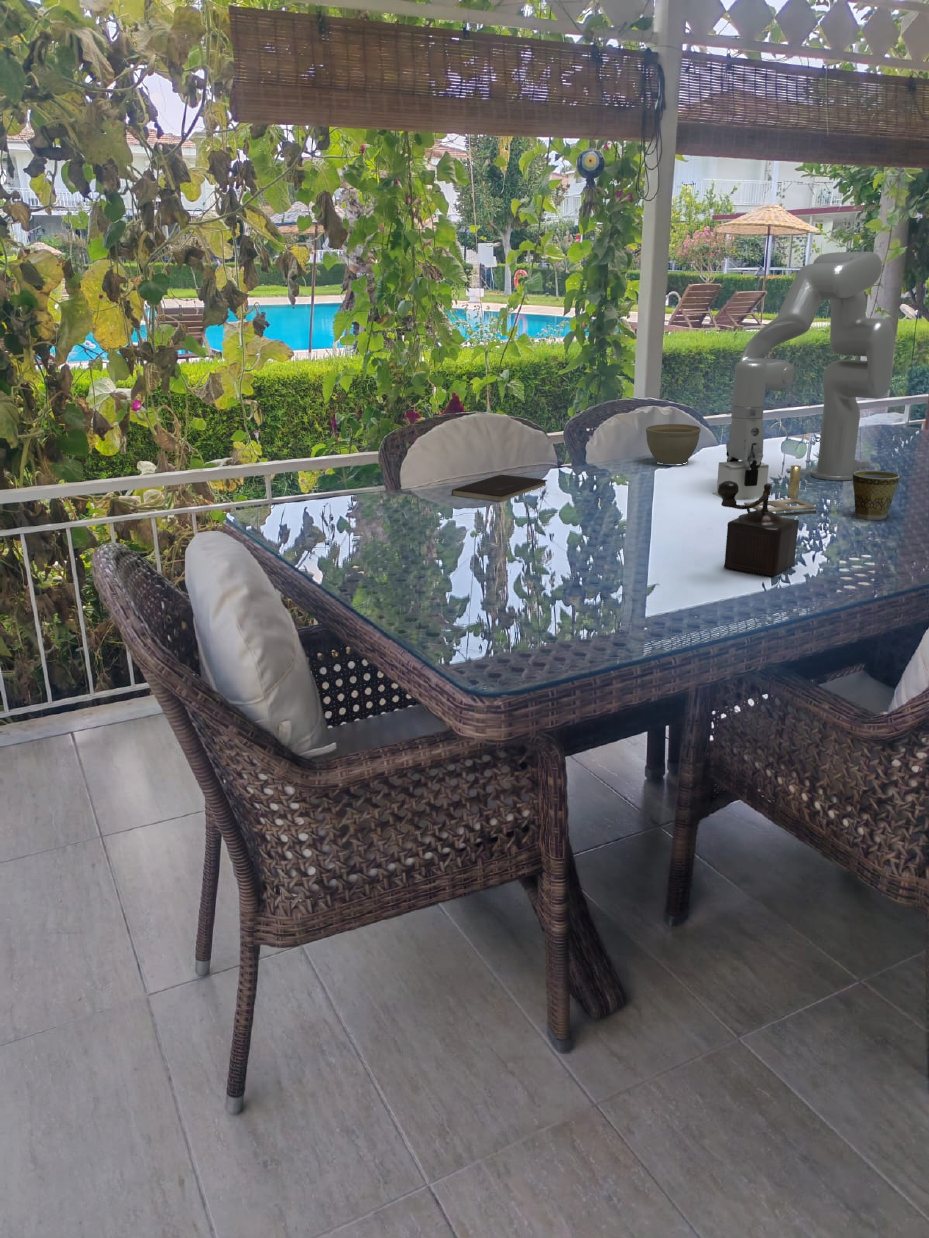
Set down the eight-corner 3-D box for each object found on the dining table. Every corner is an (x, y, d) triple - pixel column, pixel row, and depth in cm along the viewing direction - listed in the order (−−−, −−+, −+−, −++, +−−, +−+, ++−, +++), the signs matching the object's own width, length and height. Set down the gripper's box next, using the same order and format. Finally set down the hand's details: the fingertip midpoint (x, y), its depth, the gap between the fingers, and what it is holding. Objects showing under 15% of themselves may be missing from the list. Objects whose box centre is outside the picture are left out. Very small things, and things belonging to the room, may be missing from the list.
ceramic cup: (898, 522, 214) (904, 479, 211) (851, 521, 216) (857, 478, 213) (886, 509, 226) (891, 468, 223) (842, 508, 228) (847, 467, 225)
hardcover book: (547, 488, 260) (547, 479, 260) (501, 504, 243) (501, 495, 242) (499, 482, 269) (499, 474, 268) (451, 497, 252) (451, 488, 251)
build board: (796, 505, 232) (796, 498, 232) (816, 513, 224) (816, 506, 223) (743, 509, 230) (744, 502, 229) (761, 517, 221) (762, 510, 221)
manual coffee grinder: (743, 556, 192) (750, 468, 186) (796, 565, 185) (805, 475, 179) (707, 574, 181) (713, 481, 175) (761, 584, 174) (770, 489, 168)
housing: (752, 491, 243) (755, 460, 240) (765, 496, 237) (768, 465, 234) (716, 493, 241) (718, 462, 238) (729, 499, 235) (731, 467, 232)
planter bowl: (635, 461, 292) (636, 425, 288) (681, 457, 296) (683, 422, 293) (660, 470, 277) (662, 433, 274) (708, 466, 282) (711, 429, 278)
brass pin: (794, 500, 237) (797, 465, 234) (799, 502, 235) (803, 466, 232) (785, 501, 237) (789, 465, 234) (790, 503, 234) (794, 467, 231)
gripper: (779, 417, 225) (772, 488, 230) (744, 408, 241) (738, 475, 246) (750, 418, 223) (743, 489, 229) (717, 409, 239) (712, 476, 245)
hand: (741, 482), depth 238 cm, fingers open, 9 cm apart
